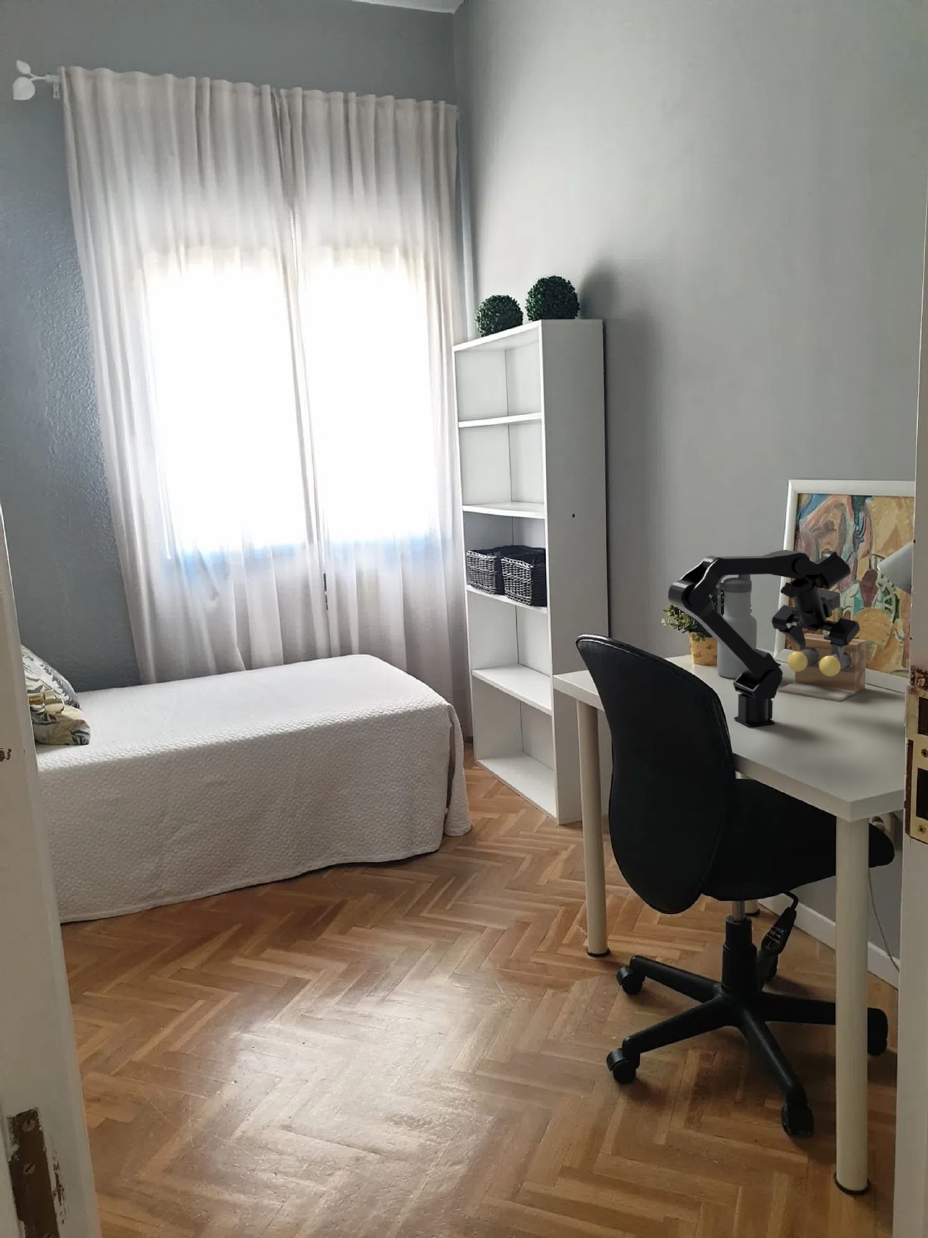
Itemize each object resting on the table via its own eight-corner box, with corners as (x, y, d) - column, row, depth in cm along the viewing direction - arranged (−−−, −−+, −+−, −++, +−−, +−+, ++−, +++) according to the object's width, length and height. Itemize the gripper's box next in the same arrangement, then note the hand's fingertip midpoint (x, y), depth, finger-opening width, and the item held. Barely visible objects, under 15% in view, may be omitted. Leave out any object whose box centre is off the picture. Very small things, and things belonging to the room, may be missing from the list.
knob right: (838, 677, 224) (839, 657, 223) (818, 674, 227) (819, 655, 226) (852, 671, 229) (853, 651, 228) (833, 668, 233) (833, 649, 232)
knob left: (806, 673, 229) (806, 653, 229) (787, 670, 233) (787, 650, 232) (820, 666, 235) (821, 647, 234) (801, 663, 238) (802, 645, 237)
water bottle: (714, 678, 248) (715, 571, 242) (716, 669, 257) (717, 566, 251) (755, 680, 245) (757, 571, 239) (756, 670, 254) (757, 566, 248)
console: (839, 701, 223) (840, 644, 220) (778, 691, 233) (779, 636, 231) (864, 688, 233) (866, 633, 230) (805, 679, 243) (807, 626, 241)
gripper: (866, 584, 205) (879, 637, 213) (790, 570, 219) (804, 620, 228) (839, 618, 201) (853, 670, 209) (763, 600, 215) (779, 650, 223)
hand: (822, 651), depth 218 cm, fingers open, 9 cm apart
